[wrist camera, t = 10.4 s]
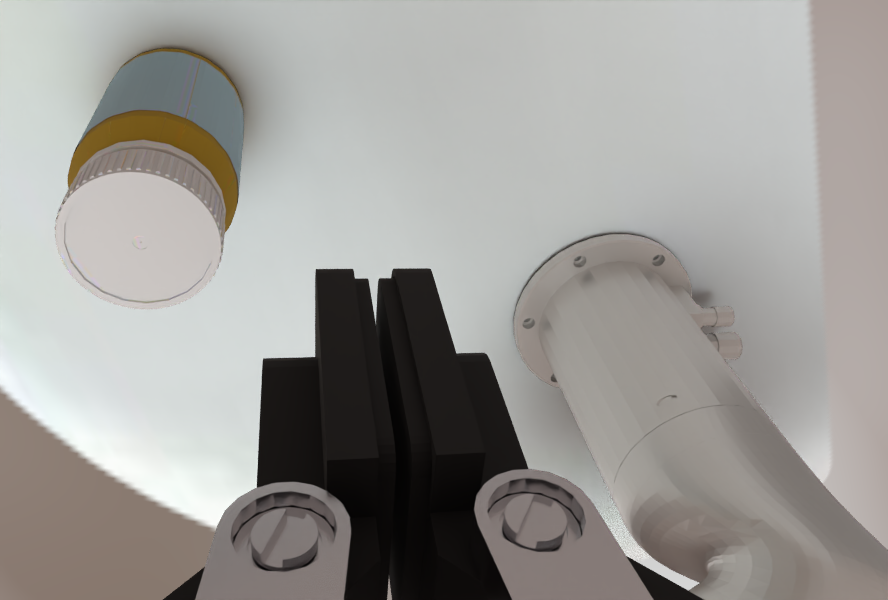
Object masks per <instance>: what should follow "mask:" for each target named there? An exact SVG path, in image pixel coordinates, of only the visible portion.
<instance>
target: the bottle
mask: <svg viewBox="0 0 888 600" xmlns="http://www.w3.org/2000/svg"><path fill="white" fill-rule="evenodd" d="M243 134H244V113H243V106H242V102H241V100H240V97H239V94H238V92H237V89H236V88H235V86H234V84H233V83H232V82H231V80H230V79H229V78H228V77H227V75H226V74H225V73H224V72H223V71H222V70H221V69H220V68H219V67H217V66H216V65H215V64H213V63H212V62H211V61H209V60H208V59H206V58H204V57H202V56H200V55H197V54H194V53H192V52H189V51H186V50H181V49H166V48H163V49H156V50H152V51H148V52H144V53H141V54H139V55H137V56H136V57H134V58H133V59H131V60H130V61H128V62H127V63H125V64H124V65H123V66H122V67H121V68H120V70H119V71H118V72H117V74H116V75H115V77H114V78H113V80H112V81H111V82H110V84H109V86H108V88H107V90H106V92H105V94H104V96H103V98H102V99H101V101H100V103H99V105H98V107H97V109H96V111H95V113H94V115H93V117H92V119H91V120H90V122H89V124H88V126H87V128H86V130H85V132H84V134H83V136H82V138H81V140H80V142H79V143H78V145H77V147H76V149H75V152H74V155H73V158H72V160H71V165H70V169H69V174H68V187H69V190H68V192H67V194H66V196H65V198H64V200H63V202H62V204H61V207H60V209H59V211H58V213H57V214H58V216H57V218H56V226H55V230H56V232H55V238H56V245H57V249H58V252H59V255H60V258H61V260H62V262H63V264H64V265H65V267H66V269H67V270H68V272H69V273H70V274H71V275H72V277H73V278H74V279H75V280H76V281H77V282H78V283H79V284H80V285H81V286H83V287H84V288H85V289H86V290H88V291H89V292H91V293H92V294H94V295H96V296H97V297H99V298H101V299H103V300H105V301H108V302H110V303H113V304H116V305H120V306H124V307H128V308H135V309H158V308H164V307H169V306H173V305H176V304H179V303H181V302H183V301H186V300H187V299H189V298H191V297H193V296H194V295H196V294H197V293H198V292H200V291H201V290H202V289H203V288H204V287H205V286H206V285H207V284H208V282H209V281H210V280H211V278H212V277H213V276H214V275H215V271H216V270H217V269H218V267H219V263H220V262H221V256H222V253H223V243H224V234H225V232H226V231H227V230H228V228H229V226H230V225H231V222H232V219H233V217H234V214H235V211H236V207H237V203H238V196H239V183H240V171H241V158H242V146H243Z"/></svg>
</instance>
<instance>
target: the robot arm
mask: <svg viewBox="0 0 888 600" xmlns="http://www.w3.org/2000/svg"><path fill="white" fill-rule="evenodd" d="M733 322H734V312H733V310H732V308H731V307H729V306H724V307H711V308H701V306H700V305H697V304H696V303H695V301H694V300H693V299H692V289H691V284H690V281H689V278H688V275H687V273H686V271H685V270H684V268H683V267H682V265H681V264H680V262H679V261H678V260H677V259H676V258H675V256H674V255H673V254H672V253H671V252H670V251H669V250H668V249H666V248H665V247H663V246H662V245H660V244H659V243H657V242H655V241H652V240H650V239H647V238H645V237H641V236H635V235H630V234H610V235H604V236H599V237H594V238H591V239H588V240H585V241H582V242H579V243H576V244H574V245H573V246H571V247H569V248H567V249H565V250H563V251H562V252H560V253H558V254H557V255H556V256H554V257H553V258H552V259H550V260H549V261H548V262H547V263H545V264H544V265H543V266H542V267H541V268H540V269H539V270H538V272H537V273H536V274H535V275H534V276H533V277H532V278H531V280H530V281H529V283H528V284H527V286H526V287H525V289H524V290H523V292H522V294H521V297H520V299H519V301H518V304H517V307H516V311H515V316H514V337H515V341H516V345H517V348H518V350H519V352H520V355H521V357H522V359H523V361H524V362H525V364H526V365H527V367H528V368H529V370H530V371H531V372H532V373H534V374H535V375H536V376H537V377H538V378H539V379H541V380H542V381H544V382H546V383H548V384H549V385H552V386H555V387H558V388H561V390H562V392H563V394H564V397H565V399H566V401H567V403H568V405H569V407H570V409H571V412H572V414H573V416H574V418H575V420H576V422H577V424H578V427H579V429H580V431H581V433H582V435H583V437H584V439H585V442H586V444H587V446H588V448H589V450H590V452H591V454H592V456H593V459H594V461H595V463H596V465H597V467H598V469H599V471H600V474H601V476H602V478H603V480H604V482H605V484H606V486H607V489H608V491H609V493H610V495H611V497H612V499H613V501H614V504H615V506H616V507H617V510H618V512H619V514H620V516H621V518H622V520H623V522H624V524H625V526H626V528H627V530H628V531H629V533H630V534H631V536H632V537H633V539H634V540H635V541H636V542H637V543H638V545H639V546H640V547H641V548H642V549H643V550H644V551H646V552H647V553H648V554H649V555H650V556H651V557H652V558H654V559H655V560H656V561H658V562H659V563H661V564H663V565H664V566H666V567H668V568H669V569H671V570H673V571H675V572H677V573H679V574H681V575H683V576H686V577H688V578H690V579H692V580H694V581H697V582H699V584H698V585H696V586H695V587H693V588H692V589H690V590H689V591H688V590H686V589H684V588H682V587H681V586H679V585H677V584H675V583H673V582H672V581H670V580H668V579H666V578H665V577H663V576H661V575H659V574H657V573H656V572H654V571H652V570H650V569H648V568H646V567H645V566H643V565H641V564H639V563H638V562H636V561H634V560H632V559H631V558H629V557H627V556H626V555H625V554H624V552H623V550H622V549H621V547H620V546H619V544H618V542H617V541H616V539H615V538H614V536H613V535H612V533H611V531H610V530H609V528H608V527H607V525H606V523H605V522H604V520H603V519H602V517H601V515H600V514H599V512H598V511H597V509H596V508H595V506H594V504H593V503H592V502H591V500H590V499H589V498H588V497H587V496H586V495H585V493H584V492H583V491H582V490H581V489H580V488H578V487H577V486H575V485H574V484H572V483H571V482H570V481H568V480H567V479H564V478H562V477H559V476H557V475H555V474H552V473H550V472H544V471H539V470H533V469H528V466H527V463H526V461H525V458H524V455H523V452H522V449H521V447H520V444H519V441H518V438H517V435H516V432H515V430H514V427H513V424H512V421H511V418H510V416H509V413H508V410H507V407H506V404H505V401H504V399H503V396H502V393H501V390H500V387H499V385H498V382H497V379H496V376H495V373H494V370H493V368H492V365H491V362H490V360H489V358H488V356H487V354H485V353H458V354H456V351H455V348H454V344H453V341H452V338H451V334H450V331H449V328H448V324H447V321H446V318H445V314H444V311H443V308H442V304H441V301H440V298H439V294H438V291H437V288H436V284H435V281H434V277H433V274H432V271H431V269H393V271H392V277H391V278H380V279H379V281H378V294H377V315H376V324H375V318H374V312H373V305H372V299H371V293H370V287H369V281H368V279H355V277H354V271H353V269H316V276H315V357H305V358H266V359H263V367H262V388H261V409H260V430H259V451H258V473H257V488H255V489H253V490H251V491H250V492H248V493H246V494H244V495H242V496H241V497H239V498H238V499H237V500H236V501H235V502H233V503H232V504H231V505H230V506H229V507H228V508H227V509H226V510H225V512H224V514H223V516H222V518H221V520H220V522H219V524H218V525H217V528H216V532H215V535H214V539H213V542H212V545H211V548H210V552H209V555H208V559H207V562H206V565H205V567H204V568H203V569H201V570H200V571H199V572H198V573H196V574H195V575H194V576H193V577H192V578H190V579H189V580H188V581H186V582H185V583H184V584H182V585H181V586H180V587H178V588H177V589H176V590H175V591H173V592H172V593H171V594H170V595H168V596H167V597H166V598H164V599H163V600H387V591H388V579H390V587H391V595H392V600H888V550H887V549H886V548H885V547H884V546H883V545H882V544H881V543H880V542H879V541H878V540H877V539H876V538H875V537H874V536H872V534H870V533H869V532H868V531H867V530H866V529H865V528H864V527H863V526H862V525H861V524H860V523H859V522H858V521H857V520H856V519H855V518H854V517H853V516H852V515H851V514H850V513H849V512H848V511H847V510H846V509H845V508H844V507H843V506H842V505H841V504H840V503H839V502H838V501H837V500H836V498H835V497H834V496H833V495H832V494H831V493H830V492H829V491H828V490H827V489H826V487H825V486H824V485H823V484H822V483H821V481H820V480H819V479H818V478H817V477H816V475H815V474H814V473H813V472H812V471H811V469H810V468H809V467H808V466H807V465H806V463H805V462H804V461H803V460H802V459H801V457H800V456H799V455H798V454H797V453H796V451H795V450H794V449H793V447H792V446H791V445H790V444H789V442H788V441H787V440H786V439H785V437H784V436H783V435H782V433H781V432H780V431H779V429H778V428H777V427H776V426H775V424H774V423H773V422H772V421H771V419H770V418H769V417H768V416H767V414H766V413H765V412H764V410H763V409H762V408H761V406H760V405H759V404H758V403H757V401H756V400H755V399H754V397H753V396H752V395H751V393H750V392H749V391H748V390H747V388H746V387H745V386H744V384H743V383H742V382H741V380H740V379H739V378H738V377H737V375H736V374H735V373H734V371H733V370H732V369H731V367H730V366H729V365H728V364H727V362H726V361H725V360H730V359H737V358H739V357H740V355H741V353H742V342H741V338H740V336H739V334H737V333H736V332H721V333H709V334H704V332H703V331H702V330H701V328H702V326H712V327H726V326H731V325H732V324H733Z"/></svg>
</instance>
